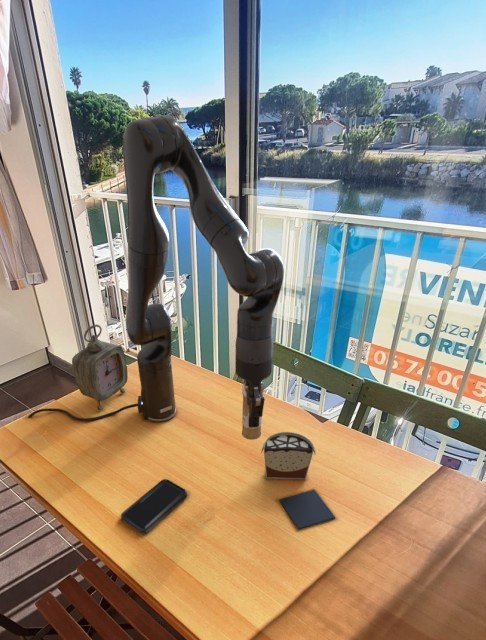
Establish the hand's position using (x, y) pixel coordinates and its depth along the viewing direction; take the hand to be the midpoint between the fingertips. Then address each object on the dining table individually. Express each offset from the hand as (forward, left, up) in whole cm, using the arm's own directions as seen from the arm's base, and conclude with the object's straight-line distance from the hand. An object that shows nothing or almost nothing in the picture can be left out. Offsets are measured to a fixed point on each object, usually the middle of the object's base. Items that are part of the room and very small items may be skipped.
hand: (251, 419), depth 102 cm
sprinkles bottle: (0, 0, -4) cm, 4 cm away
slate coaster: (+11, -13, -16) cm, 23 cm away
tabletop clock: (-40, +38, -16) cm, 57 cm away
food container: (+9, 0, -16) cm, 19 cm away
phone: (-23, -9, -16) cm, 30 cm away
